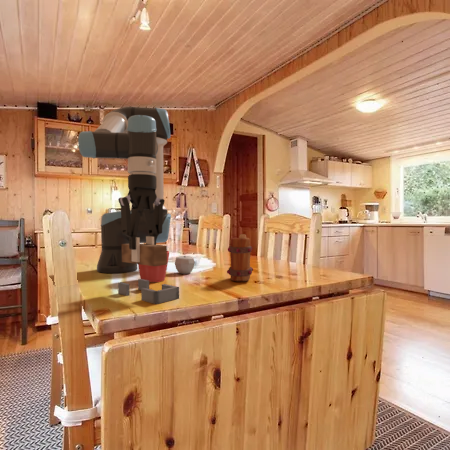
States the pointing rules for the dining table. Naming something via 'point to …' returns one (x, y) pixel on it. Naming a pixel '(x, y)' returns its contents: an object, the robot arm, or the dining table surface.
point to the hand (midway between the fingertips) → (143, 260)
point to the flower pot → (153, 272)
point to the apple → (184, 264)
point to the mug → (240, 259)
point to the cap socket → (160, 294)
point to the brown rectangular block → (146, 254)
